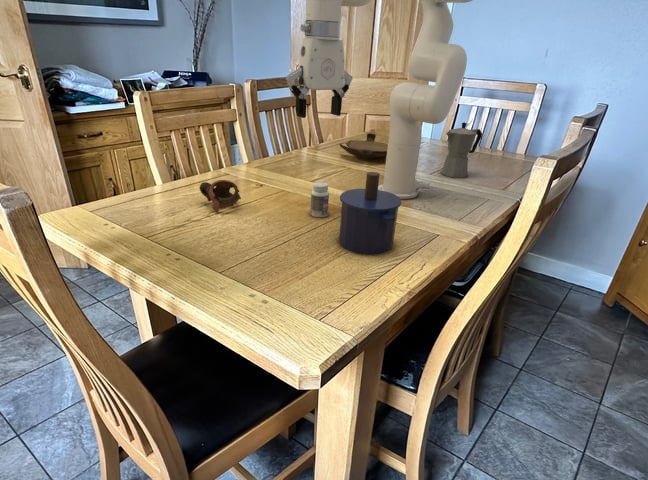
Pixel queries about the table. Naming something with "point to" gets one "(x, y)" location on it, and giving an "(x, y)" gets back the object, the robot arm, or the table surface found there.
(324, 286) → the table surface
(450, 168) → the coffeepot
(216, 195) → the pottery mug
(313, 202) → the pill bottle
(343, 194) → the lid
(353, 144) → the brown shallow dish
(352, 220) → the pot
